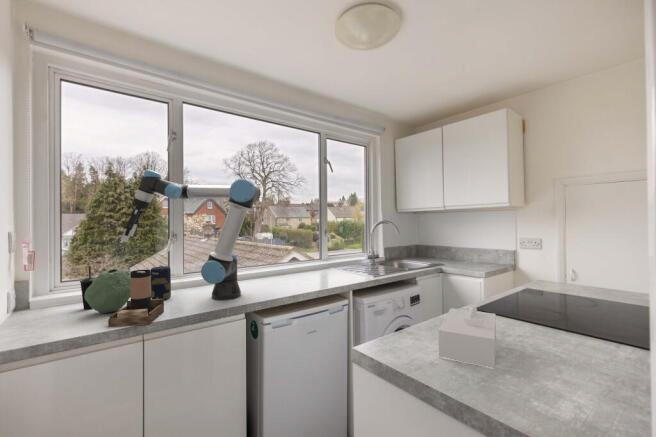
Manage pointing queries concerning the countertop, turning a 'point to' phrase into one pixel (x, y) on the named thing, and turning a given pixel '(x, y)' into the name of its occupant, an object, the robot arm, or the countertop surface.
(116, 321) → the wooden tray
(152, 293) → the canister
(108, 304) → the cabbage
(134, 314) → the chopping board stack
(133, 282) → the travel mug
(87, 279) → the drinking cup
